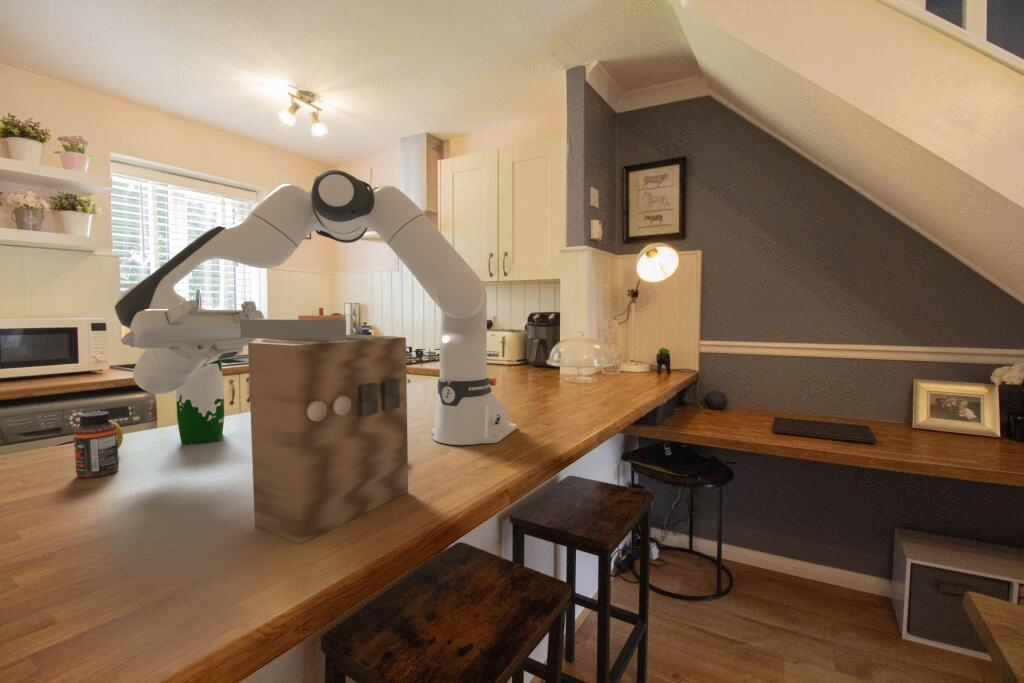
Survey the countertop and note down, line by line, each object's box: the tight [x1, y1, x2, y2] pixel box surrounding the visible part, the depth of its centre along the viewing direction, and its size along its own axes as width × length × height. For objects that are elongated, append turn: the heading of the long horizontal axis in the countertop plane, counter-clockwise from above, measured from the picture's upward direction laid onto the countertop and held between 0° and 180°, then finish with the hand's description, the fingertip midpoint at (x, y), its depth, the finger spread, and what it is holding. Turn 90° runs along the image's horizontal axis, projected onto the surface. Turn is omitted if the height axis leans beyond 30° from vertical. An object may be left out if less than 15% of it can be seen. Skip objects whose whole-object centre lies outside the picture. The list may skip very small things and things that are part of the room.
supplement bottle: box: [73, 410, 120, 479], centre depth 87 cm, size 6×6×11 cm
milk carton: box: [175, 359, 225, 445], centre depth 109 cm, size 9×9×20 cm
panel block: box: [247, 334, 409, 545], centre depth 71 cm, size 20×11×26 cm, turn 150°
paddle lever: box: [240, 314, 347, 342], centre depth 67 cm, size 4×20×3 cm, turn 60°
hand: (223, 304), depth 78 cm, fingers open, 8 cm apart
